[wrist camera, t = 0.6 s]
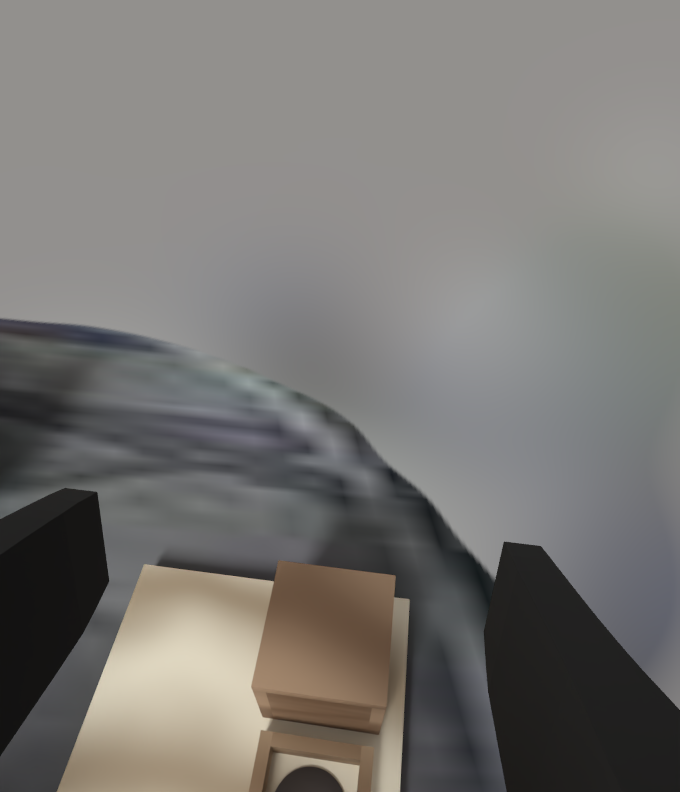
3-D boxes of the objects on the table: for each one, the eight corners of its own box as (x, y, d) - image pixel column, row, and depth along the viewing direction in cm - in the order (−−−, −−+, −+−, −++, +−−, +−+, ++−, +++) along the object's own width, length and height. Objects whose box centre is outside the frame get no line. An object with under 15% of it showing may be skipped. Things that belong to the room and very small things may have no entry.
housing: (378, 735, 24) (386, 706, 21) (262, 717, 24) (251, 686, 21) (387, 616, 27) (395, 575, 24) (285, 602, 28) (278, 560, 24)
